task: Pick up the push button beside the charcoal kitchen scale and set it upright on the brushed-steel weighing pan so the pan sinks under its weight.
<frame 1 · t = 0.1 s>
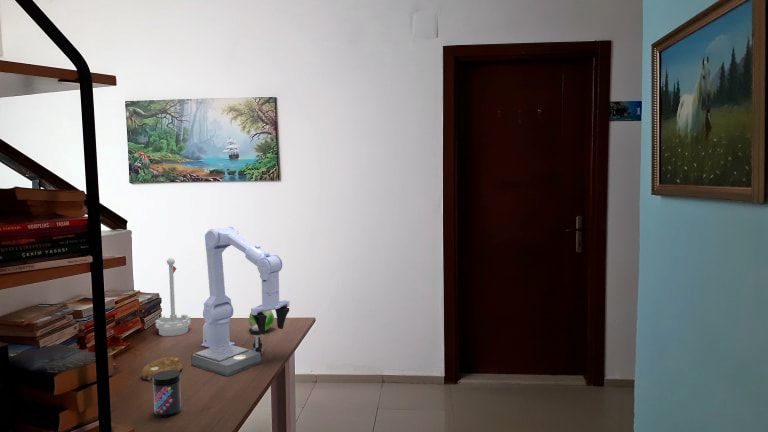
hand: (271, 331, 179), 10 cm above the table, tool pointing down, fingers open, 7 cm apart
decorative ball: (261, 331, 212), on the table
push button: (257, 355, 185), on the table
weighing pan: (222, 352, 177), point 4 cm above the table, slide at 0.0 cm
decorative rock: (163, 374, 169), on the table
flag stand: (173, 332, 211), on the table
scale housing: (226, 363, 176), on the table
supplement container: (168, 413, 141), on the table
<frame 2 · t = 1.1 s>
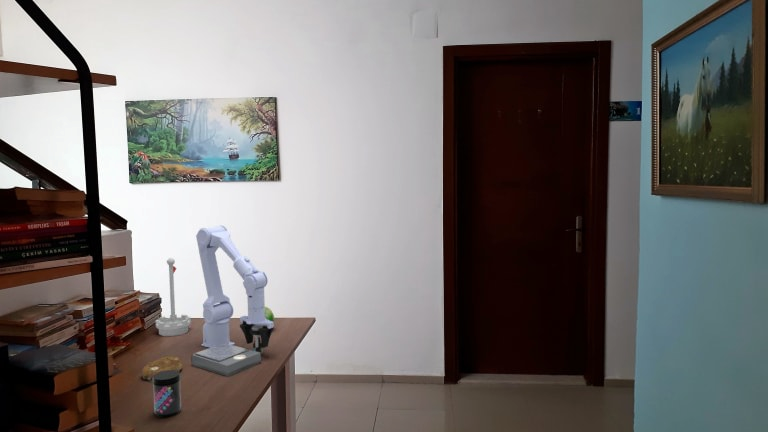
hand: (257, 345, 184), 3 cm above the table, tool pointing down, fingers open, 7 cm apart
nothing on the table moved.
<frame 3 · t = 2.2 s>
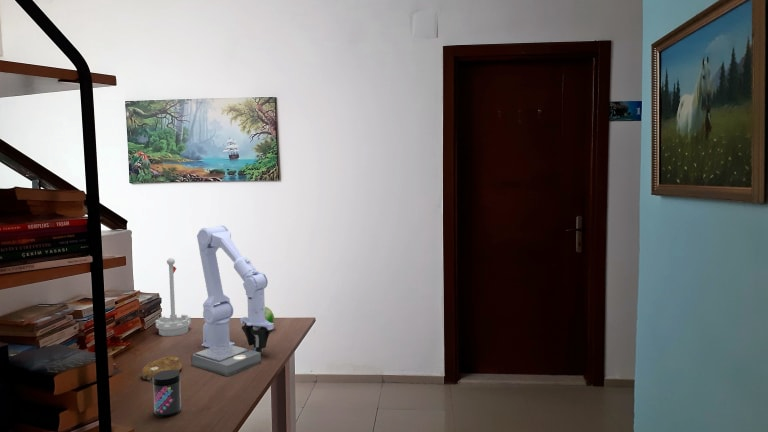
hand: (257, 346, 185), 3 cm above the table, tool pointing down, fingers closed on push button, 5 cm apart
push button: (257, 354, 185), on the table, touching gripper
everything else where it was.
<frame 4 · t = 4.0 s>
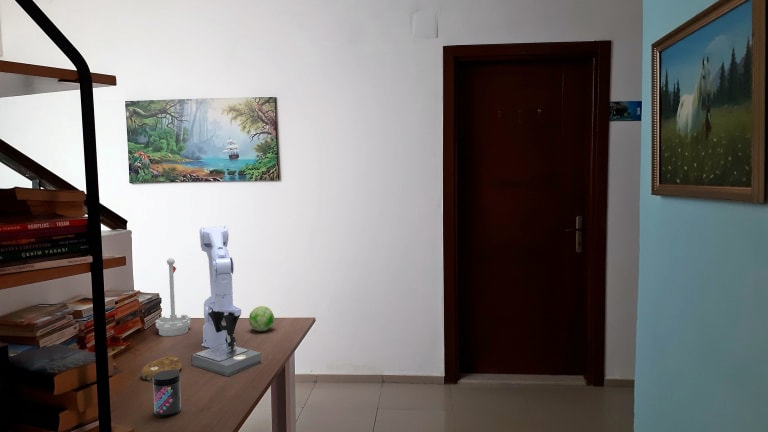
hand: (224, 333, 177), 10 cm above the table, tool pointing down, fingers closed on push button, 5 cm apart
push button: (231, 349, 179), point 4 cm above the table, touching gripper
everything else where it was.
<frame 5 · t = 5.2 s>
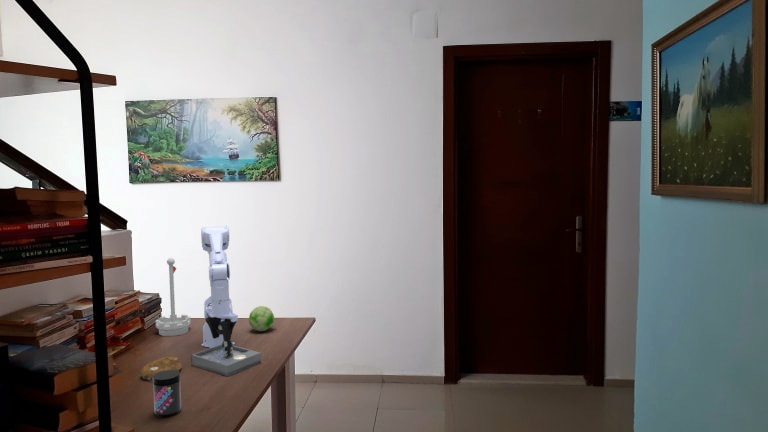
hand: (221, 339, 176), 8 cm above the table, tool pointing down, fingers closed on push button, 5 cm apart
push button: (227, 354, 178), point 3 cm above the table, touching gripper, weighing pan
weighing pan: (222, 356, 177), point 2 cm above the table, slide at 1.5 cm, touching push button
everything else where it was.
when the fingers open (8 cm above the table, at t = 5.5 s): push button stays where it is, resting on weighing pan.
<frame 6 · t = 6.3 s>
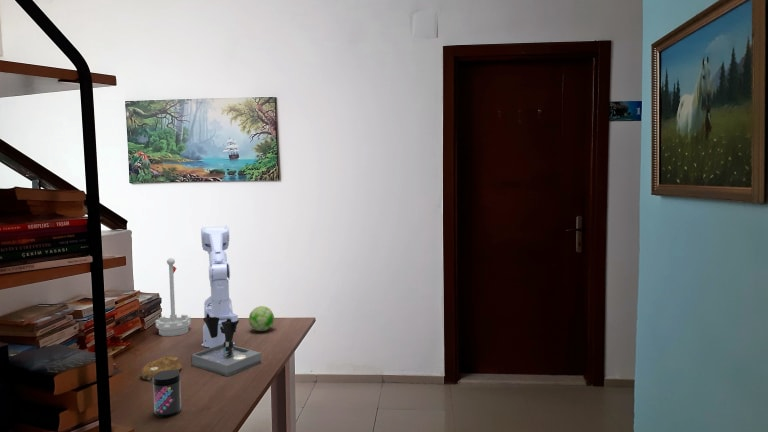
hand: (221, 339, 176), 8 cm above the table, tool pointing down, fingers open, 7 cm apart
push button: (227, 354, 178), point 2 cm above the table, touching weighing pan
everything else where it was.
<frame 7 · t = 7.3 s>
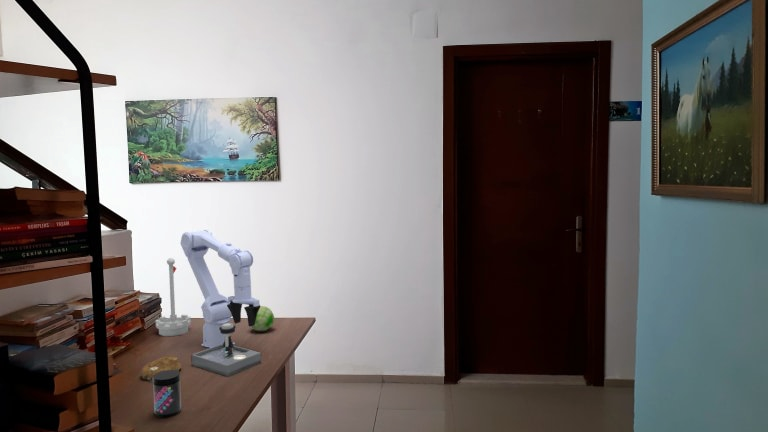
hand: (244, 324, 186), 10 cm above the table, tool pointing down, fingers open, 7 cm apart
nothing on the table moved.
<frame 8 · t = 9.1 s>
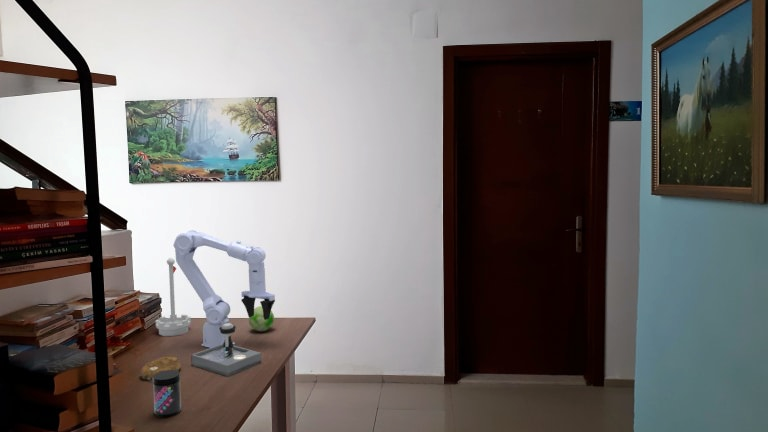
hand: (258, 317, 194), 10 cm above the table, tool pointing down, fingers open, 7 cm apart
nothing on the table moved.
at the end: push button inside the target area (1.9 cm from its centre), point 2.4 cm above the table; weighing pan slide at 1.4 cm; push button tilted 0° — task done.
